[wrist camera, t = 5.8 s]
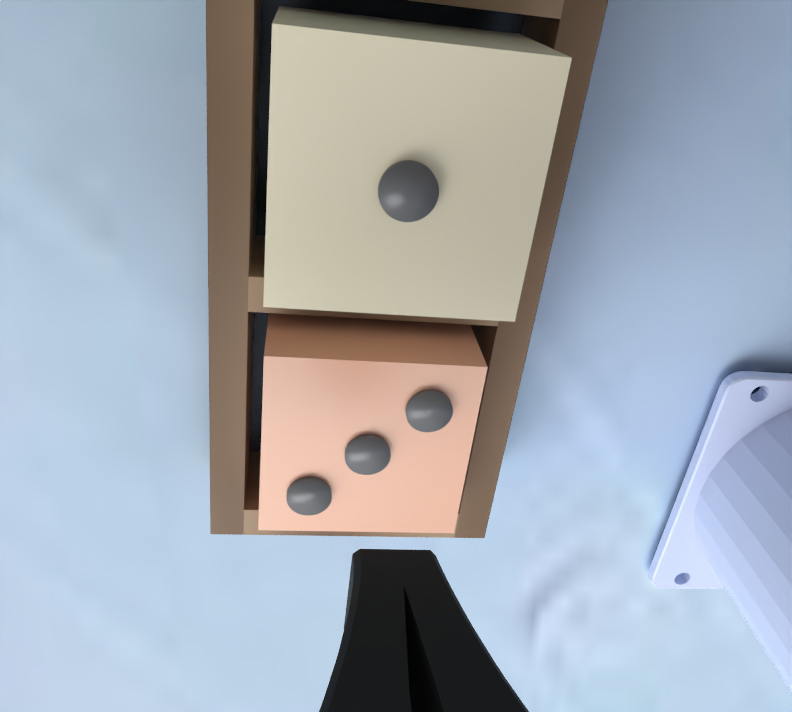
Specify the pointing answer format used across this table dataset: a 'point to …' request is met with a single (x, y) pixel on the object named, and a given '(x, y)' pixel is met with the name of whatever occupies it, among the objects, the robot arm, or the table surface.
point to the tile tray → (244, 290)
